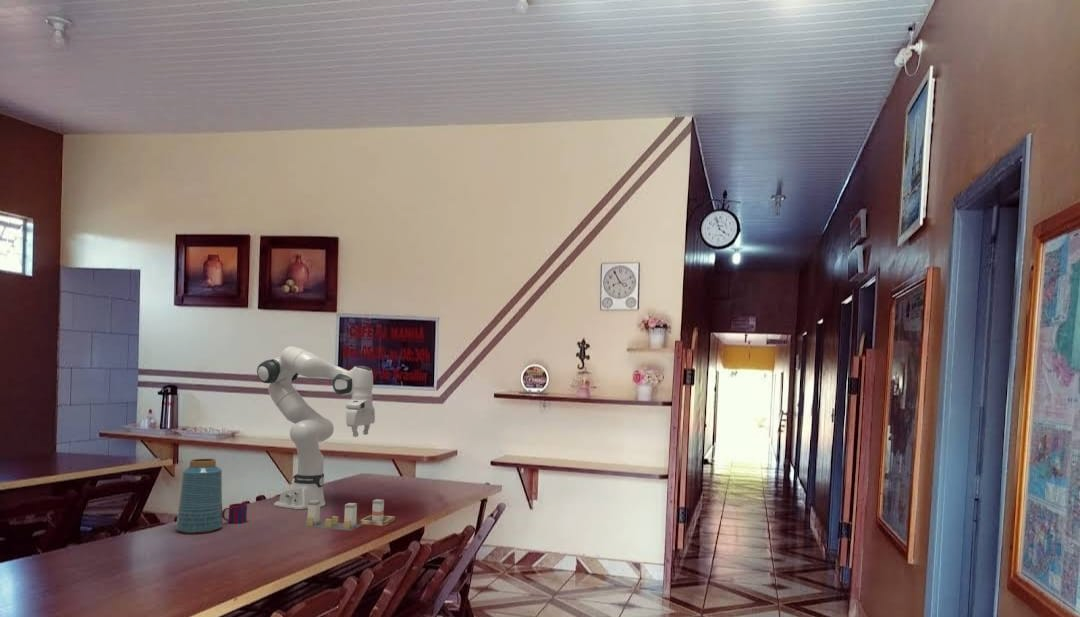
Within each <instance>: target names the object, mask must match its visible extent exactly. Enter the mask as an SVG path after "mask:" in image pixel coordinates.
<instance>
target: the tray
mask: <svg viewBox="0 0 1080 617" xmlns="http://www.w3.org/2000/svg"><path fill="white" fill-rule="evenodd" d="M396 519H397V518H396V516H391V515H383V522H381V521H372V514H369V515H368V516H366V517H363V518H361V519H359V520H358V525H368V526H381V527H383V526H384V527H385V526H387V525H388V524H391V523H393V522H394V521H396Z"/></svg>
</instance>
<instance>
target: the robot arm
mask: <svg viewBox="0 0 1080 617" xmlns="http://www.w3.org/2000/svg"><path fill="white" fill-rule="evenodd" d="M256 374H257V375H256V376H257V377H258V379H259V381H260V382H262V383H264V384H269V385H268V388H267V391H268V394H269V396H270V398H271V399H272V402H273V403H274V404H275V406H276V408H277V409H278V410H279V411H280V413H281V414H282V415H283V416H284V417H285V418H286V420H287V421H289V422H291V423H293V424H292V426H291V427H290V430H289V437H290V439H291V441H292V442H293V443H294V445H295V448H296V452H297V463H298V464H297V474H294V475H292V476H291V477H292V479H294V480H293V482H291V484H289V485H288V486H287V487H286V488H285V487H284V489H283V490H281V493H280V496H279V500H277V501H276V502H274V503H273V506H274V507H280V508H284V509H285V508H286V509H292V510H294V509H295V510H302V509H303V510H304V509H308V502H309V501H312V500H318V501H320V508H322V507H324V506H325V505H326V500H325V495H324V482H325V473H324V463H325V462H324V460H325V459H324V458H325V456H324V454H323V453H322V452H321V450H320V445H319V443H321V442H324V441H326V440H328V439H330V438H331V437H332V436H333V434H334V430H335V429H334V428H335V427H334V424H333V422H332V421H331V420H330V419H328V418H326V417H324V416H323V415H321V414H320V413H319V412H317V410H315V409H314V408H312V407H311V405H309V404H308V402H307V401H305V399H304V398H303V397H302V396H301V394H300V393H299V392H298V391H297V390H296V388H295V387H294V386H293V383H292V381H296V380H297V378H298V376H302V377H304V378H305V377H306V378H314V379H315V378H316V379H317V378H320V379H321V378H322V379H331V380H332V388H333V391H334V392H335V393H336V394H338V395H340V396H341V395H342V396H351V399H349V401H348V402H347V403H346V404H345V409H346V414H345V415H346V416H345V422H346V426H347V427H349V428H351V432H352V437H353V438H358V436H359V432H358V427H359V426H363V428H364V429H363V430H362V435H365V436H366V435H369V430H370V428H371V424H374V423H375V422H376V414H375V413H376V412H375V411H376V410H375V407H374V404H373V388H374V373H373V369H372V368H370V367H368V366H365V365H355V366H353V368H351V369H350V370H349V369H346V368H343V367H341V366H339V365H337V364H334V363H332V362H330V361H328V360H327V359H324V358H322V357H320V356H318V355H317V354H315V353H313V352H310V351H309V350H307V349H304V348H301V347H298V346H294V345H293V346H292V345H291V346H287V347H285V348H284V349H283V351H282V352H281V354H280V355H279V356H276V357H273V358H271V359H267V360H264V361H263V362H262V361H261V363H260V364H258V366H257V368H256Z"/></svg>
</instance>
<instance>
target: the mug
mask: <svg viewBox="0 0 1080 617" xmlns="http://www.w3.org/2000/svg"><path fill="white" fill-rule="evenodd" d="M226 510H228V519H227V517H225V512H226ZM247 510H248V504H247V503H243V502H241V503H240V502H238V503H231V504H229V505H228V507H225V508H224V509H222V520H223V519H224V520H225V522H226V521H227V522H228V523H229V524H233V525H236V524H238V525H239V524H243V523H247V518H248V517H247V516H248V514H247V513H248V511H247Z"/></svg>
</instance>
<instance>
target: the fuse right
mask: <svg viewBox="0 0 1080 617" xmlns="http://www.w3.org/2000/svg"><path fill="white" fill-rule="evenodd" d="M357 510H358V503H355V502H348V503H345V504H344V518H343V519H344V520H343V522H344V521H345V520H346V521H350V528H354V527H356V524H357V523H356V518H357V514H358V513H357Z"/></svg>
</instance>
